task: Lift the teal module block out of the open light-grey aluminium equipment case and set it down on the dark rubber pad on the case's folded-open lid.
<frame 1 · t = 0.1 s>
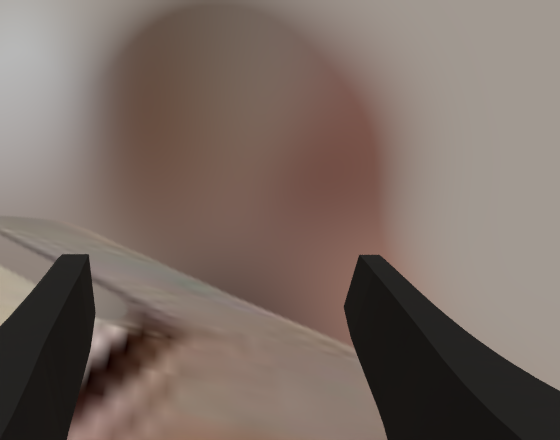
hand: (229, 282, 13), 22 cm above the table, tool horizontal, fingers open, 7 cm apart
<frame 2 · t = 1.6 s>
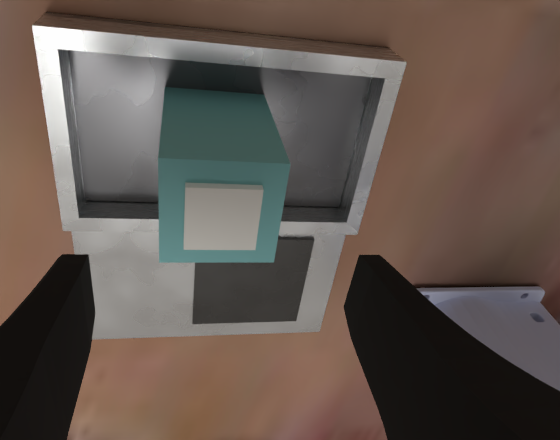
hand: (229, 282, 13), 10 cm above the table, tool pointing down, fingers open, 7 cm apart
case: (223, 130, 21), on the table
lid: (212, 272, 25), on the table
module: (212, 136, 20), point 1 cm above the table, touching case
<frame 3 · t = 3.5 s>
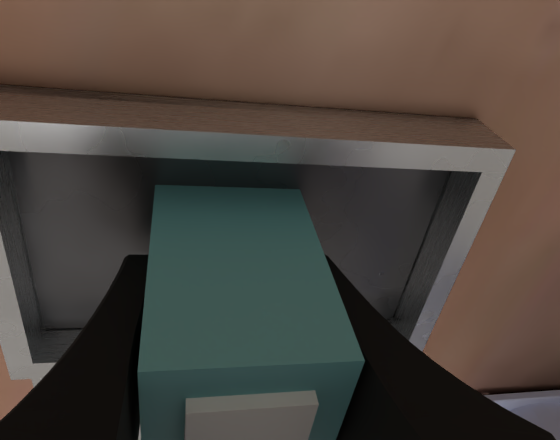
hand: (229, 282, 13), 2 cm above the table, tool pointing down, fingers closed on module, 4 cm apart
case: (239, 230, 15), on the table
module: (224, 244, 14), point 1 cm above the table, touching case, gripper
when the fingers open (4 cm above the table, at t = 6.8 s): module stays where it is, resting on lid.
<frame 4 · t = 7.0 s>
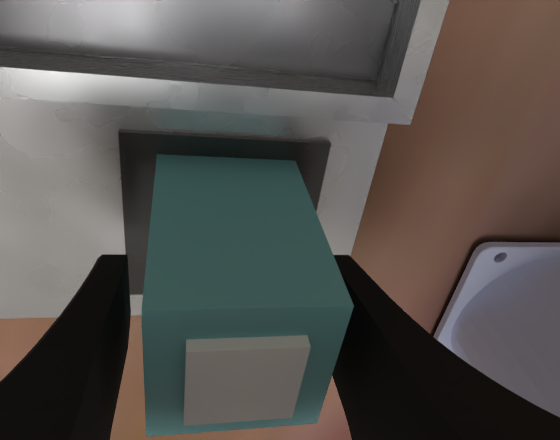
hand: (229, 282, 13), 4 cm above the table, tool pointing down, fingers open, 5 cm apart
lid: (158, 207, 15), on the table
module: (223, 214, 15), point 1 cm above the table, touching lid
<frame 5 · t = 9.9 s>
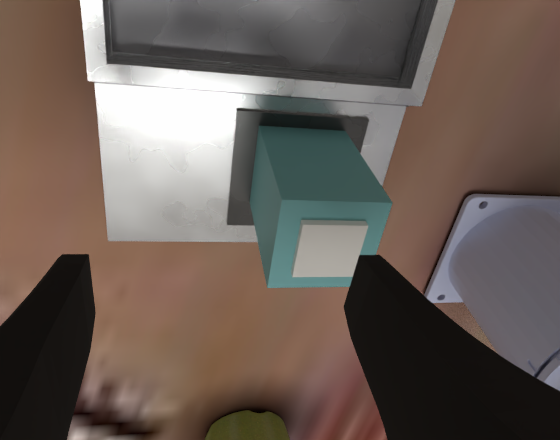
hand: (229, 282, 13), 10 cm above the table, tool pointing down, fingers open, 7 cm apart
plant pot: (245, 428, 36), on the table
lid: (250, 164, 23), on the table
module: (296, 167, 22), point 1 cm above the table, touching lid
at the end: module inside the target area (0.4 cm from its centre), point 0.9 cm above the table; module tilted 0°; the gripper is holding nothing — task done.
